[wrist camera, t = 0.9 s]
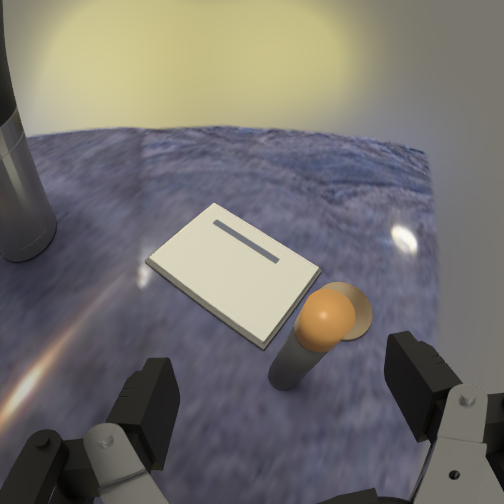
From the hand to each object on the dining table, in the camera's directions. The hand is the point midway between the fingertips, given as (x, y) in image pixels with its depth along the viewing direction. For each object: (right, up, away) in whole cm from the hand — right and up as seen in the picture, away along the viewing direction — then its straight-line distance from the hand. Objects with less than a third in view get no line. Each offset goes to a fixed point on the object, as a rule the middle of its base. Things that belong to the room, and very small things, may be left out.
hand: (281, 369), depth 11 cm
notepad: (-3, +2, +25) cm, 25 cm away
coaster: (+9, -2, +23) cm, 25 cm away
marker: (+2, -8, +18) cm, 20 cm away
